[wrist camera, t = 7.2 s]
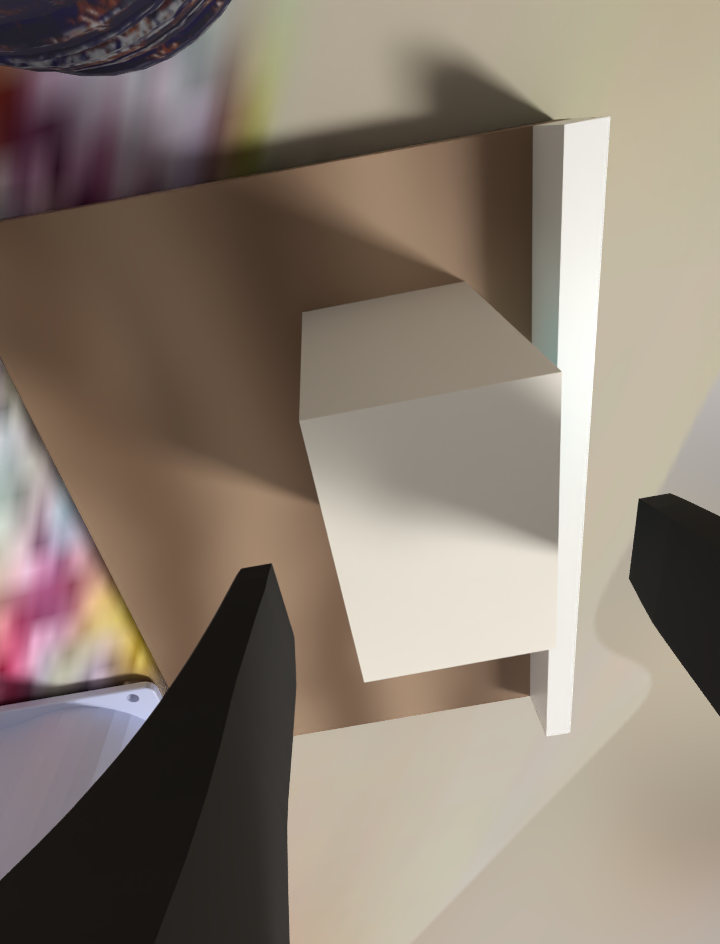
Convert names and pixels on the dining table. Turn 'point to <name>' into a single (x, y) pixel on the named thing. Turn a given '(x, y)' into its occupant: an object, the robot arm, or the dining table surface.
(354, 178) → the brown tray
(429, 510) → the carton
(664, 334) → the dining table surface
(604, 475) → the dining table surface
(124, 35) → the dark blue cylinder
